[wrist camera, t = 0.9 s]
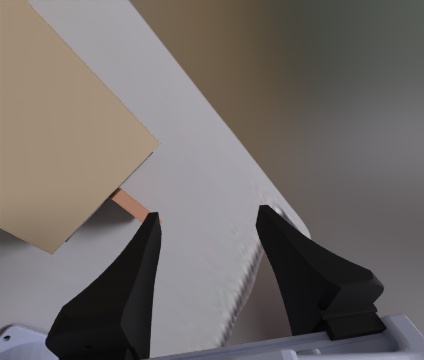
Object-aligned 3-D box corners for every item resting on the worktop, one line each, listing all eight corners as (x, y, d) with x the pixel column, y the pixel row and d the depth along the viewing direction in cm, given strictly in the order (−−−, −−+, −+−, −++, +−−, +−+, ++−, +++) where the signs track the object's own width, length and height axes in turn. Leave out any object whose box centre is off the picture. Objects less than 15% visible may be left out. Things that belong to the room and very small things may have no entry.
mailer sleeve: (-165, 112, 13) (-280, 84, 8) (20, 22, 17) (3, -24, 13) (56, 236, 19) (51, 254, 15) (146, 147, 24) (160, 143, 20)
